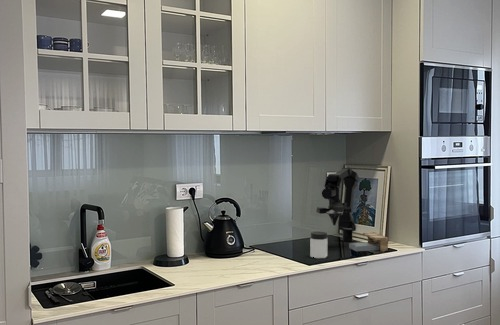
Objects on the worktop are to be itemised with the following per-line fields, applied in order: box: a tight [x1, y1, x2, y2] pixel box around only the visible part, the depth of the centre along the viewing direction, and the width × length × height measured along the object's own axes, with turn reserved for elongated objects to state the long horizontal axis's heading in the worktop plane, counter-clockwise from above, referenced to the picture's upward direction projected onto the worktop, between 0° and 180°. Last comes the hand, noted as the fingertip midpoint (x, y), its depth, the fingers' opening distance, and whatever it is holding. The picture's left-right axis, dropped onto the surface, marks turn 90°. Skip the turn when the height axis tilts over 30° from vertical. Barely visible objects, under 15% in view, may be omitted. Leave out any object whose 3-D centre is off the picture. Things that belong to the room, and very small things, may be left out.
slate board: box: [348, 241, 380, 252], centre depth 270 cm, size 9×14×3 cm, turn 103°
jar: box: [309, 231, 328, 259], centre depth 252 cm, size 9×8×12 cm
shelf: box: [362, 231, 389, 252], centre depth 272 cm, size 16×7×7 cm, turn 12°
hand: (334, 225), depth 275 cm, fingers closed
